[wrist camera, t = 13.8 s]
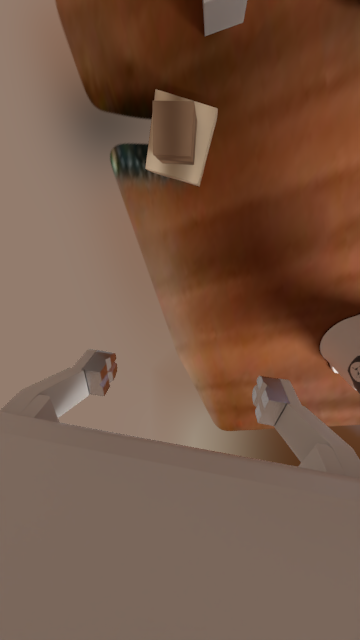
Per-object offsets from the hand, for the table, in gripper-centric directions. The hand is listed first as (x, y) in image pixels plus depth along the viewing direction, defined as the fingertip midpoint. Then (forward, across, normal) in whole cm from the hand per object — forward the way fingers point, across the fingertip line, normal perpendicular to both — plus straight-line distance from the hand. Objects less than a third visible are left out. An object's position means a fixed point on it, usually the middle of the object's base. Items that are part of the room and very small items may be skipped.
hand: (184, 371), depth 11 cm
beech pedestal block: (+34, +6, -16) cm, 39 cm away
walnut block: (+30, +6, -16) cm, 35 cm away
